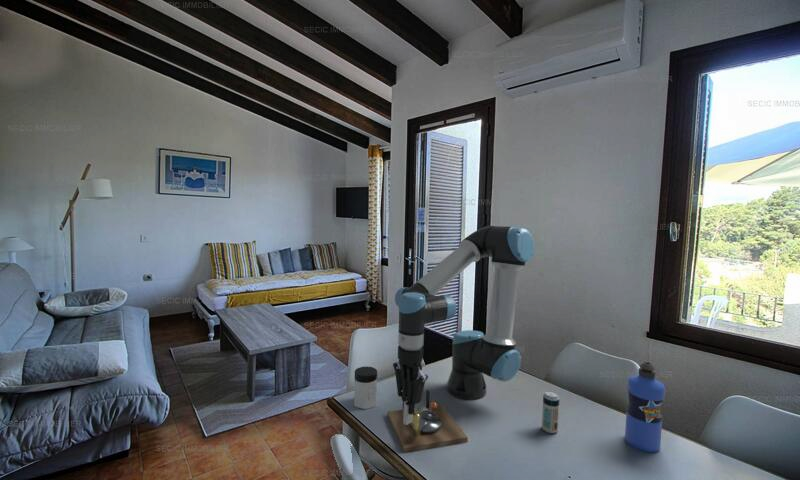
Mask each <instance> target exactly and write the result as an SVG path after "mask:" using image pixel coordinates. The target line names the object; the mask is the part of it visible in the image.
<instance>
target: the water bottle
mask: <svg viewBox="0 0 800 480" xmlns="http://www.w3.org/2000/svg"><path fill="white" fill-rule="evenodd" d="M655 370H656V368H655V367H654V365H653V364H652V363H650V362H647V361H645V362H643V363H641V364H639V368H638V371H637V372H638V375H633V376H632V375H631V376H629V377H628V378H627V391H628V392H627V393H628V404H627V409H626V413H625V414H626V415H625V426H624V427H625V428H624V429H625V431H624V432H625V433H624V441H625V442H626V443H627V444H628V446H629V445H630V447H632V448H634V449H635V450H638V451H640V452H644V453H651V454H652V453H653V454H654V453H659V452H660V450H661V443H662V441H661V440H662V429H663V417H662V409H663V408H662V407H663V403H664V400H665V395H666V385H664V384H663V383H662V382H660V381H659V380H657V379H655V378H656V371H655Z"/></svg>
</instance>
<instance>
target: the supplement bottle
mask: <svg viewBox="0 0 800 480" xmlns="http://www.w3.org/2000/svg"><path fill="white" fill-rule="evenodd" d="M542 399H543V400H542V414H541V415H542V418H541V429H542V430H543V431H545V432H546V433H548V434H556V433H558V431H559V418H560V417H559V415H560V400H561V399H560V396H559V393H557V392H555V391H552V390H547V391H545V392H544V394H543V398H542Z"/></svg>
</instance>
